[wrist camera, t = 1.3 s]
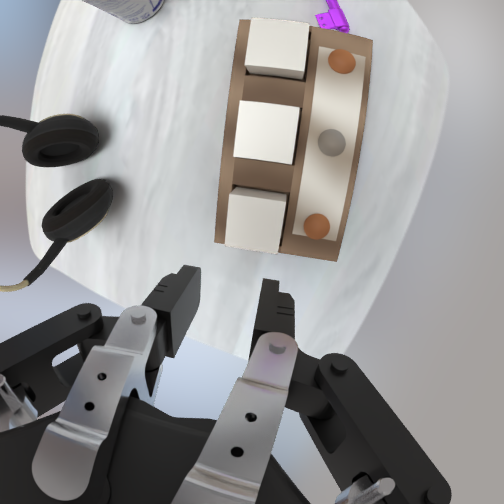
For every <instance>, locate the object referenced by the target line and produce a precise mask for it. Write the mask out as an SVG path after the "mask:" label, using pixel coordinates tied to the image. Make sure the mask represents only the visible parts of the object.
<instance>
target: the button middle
mask: <svg viewBox="0 0 504 504" xmlns="http://www.w3.org/2000/svg"><path fill="white" fill-rule="evenodd" d="M299 109H300V108H299V107H293V106H286V105H279V104H271V103H262V102H252V101H241V100H240V103H239V111H238V119H237V128H236V136H235V145H234V154H233V157H240V158H249V159H257V160H264V161H272V162H278V163H285V164H291V165H292V160H293V153H294V146H295V139H296V131H297V124H298V117H299Z"/></svg>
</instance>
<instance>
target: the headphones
mask: <svg viewBox="0 0 504 504" xmlns="http://www.w3.org/2000/svg"><path fill="white" fill-rule="evenodd" d="M0 126H4V127H9V128H13V129H16V130H20V131H23V132H27V135H26V136H25V138H24V141H23V145H22V152H23V156H24V158H25V160H26V161H28V162H29V163H30V164H32V165H35V166H39V167H59V166H65V165H70V164H73V163H77V162H79V161H82V160H84V159H86V158H87V157H89V156H90V155H91V154H92V153H93V152H94V151H95V150H96V148H97V145H98V131H97V129H96V127H95V126H94V125H93V124H92V123H90V122H89V121H88V120H86V119H84V118H83V117H81V116H78V115H74V114H59V115H54V116H50V117H48V118H45V119H43V120H42V121H40V122H39V123H37V122H34V121H30V120H26V119H21V118H16V117H10V116H3V115H2V116H0ZM112 197H113V192H112V189H111V187H110V185H109V183H107V182H106V181H105V180H102V179H95V180H92V181H89V182H87V183H85V184H83V185H81V186H79V187H77V188H76V189H74V190H72V191H71V192H69V193H68V194H66V195H65V196H64V197H62V198H61V199H60V200H59V201H58V202H57V203H56V204H54V205H53V206H52V208H51V209H50V210H49V211H48V212H47V213H46V215H45V216H44V218H43V221H42V228H43V232H44V234H45V235H46V237H47V238H48V239H49V240H51V241H54V243H53V244H52V245H51V247H50V248H49V250H48V251H47V253H46V254H45V256H44V257H43V259H42V260H41V261H40V262H39V264H38V265H37V266H36V267H35V268H34V269H33V270H32V271H31V272H30V273H29V274H28V275H27V276H26V277H25V278H24V280H23V281H22V282H21V283H19V284H16V285H12V286H0V291H2V292H8V291H9V292H10V291H16V290H19V289H22V288H24V287H26V286H29V285H30V284H31V283H33V282H34V281H35V280H36V279H37V278H38V277H39V276H40V275H42V274H43V273H44V271H45V270H46V269H47V268H48V266H49V265H50V264H51V263H52V262H53V260H54V259H55V258H56V256H57V255H58V254H59V253H60V251H61V250H62V249H63V247H64V246H65V245H66V243H67V242H72V241H74V240H77V239H79V238H80V237H82V236H84V235H85V234H87V233H88V232H90V231H91V230H92V229H94V228H95V227H96V226H97V225H98V224H99V223H100V222H101V221H102V220H103V219H104V218H105V216H106V215H107V213H108V210H109V207H110V205H111V202H112Z"/></svg>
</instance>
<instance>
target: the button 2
mask: <svg viewBox="0 0 504 504" xmlns="http://www.w3.org/2000/svg"><path fill="white" fill-rule="evenodd" d="M309 24H310V23H304V22H297V21H289V20H280V19H268V18H251V24H250V31H249V37H248V44H247V51H246V58H245V66H246V68H247V70H248V71H249V73H250V74H260V75H270V76H279V77H287V78H294V79H300V80H302V78H303V74H304V69H305V61H306V52H307V43H308V34H309Z"/></svg>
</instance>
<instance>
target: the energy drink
mask: <svg viewBox="0 0 504 504" xmlns="http://www.w3.org/2000/svg"><path fill="white" fill-rule="evenodd" d="M82 1H84V2H86V3H89V4H91V5H93V6H95V7H97V8H99V9H101V10H103V11H105V12H107V13H109V14H111V15H113V16H115V17H117V18H119V19H121V20H123V21H125V22H127V23H139V22H142V21H144V20H147V19H148V18H150V17H151V16H153V15H154V14H155V13H156V12H157V11H158V10H159V9H160V7H161V6H162V4H163V1H164V0H82Z"/></svg>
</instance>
